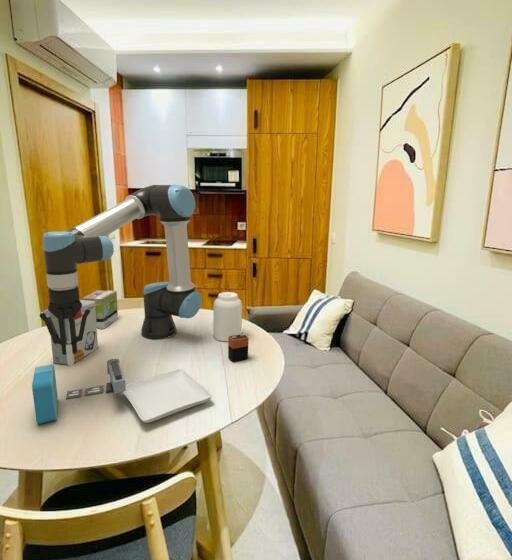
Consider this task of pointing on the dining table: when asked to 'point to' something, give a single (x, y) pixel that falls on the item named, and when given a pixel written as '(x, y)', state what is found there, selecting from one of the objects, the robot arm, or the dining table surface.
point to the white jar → (227, 316)
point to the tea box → (104, 307)
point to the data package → (45, 394)
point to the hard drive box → (89, 336)
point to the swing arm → (116, 375)
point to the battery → (238, 347)
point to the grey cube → (109, 387)
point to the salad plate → (165, 394)
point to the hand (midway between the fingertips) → (71, 363)
